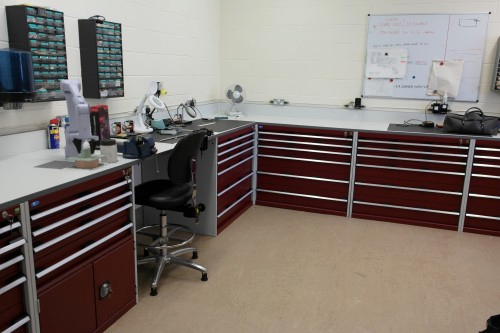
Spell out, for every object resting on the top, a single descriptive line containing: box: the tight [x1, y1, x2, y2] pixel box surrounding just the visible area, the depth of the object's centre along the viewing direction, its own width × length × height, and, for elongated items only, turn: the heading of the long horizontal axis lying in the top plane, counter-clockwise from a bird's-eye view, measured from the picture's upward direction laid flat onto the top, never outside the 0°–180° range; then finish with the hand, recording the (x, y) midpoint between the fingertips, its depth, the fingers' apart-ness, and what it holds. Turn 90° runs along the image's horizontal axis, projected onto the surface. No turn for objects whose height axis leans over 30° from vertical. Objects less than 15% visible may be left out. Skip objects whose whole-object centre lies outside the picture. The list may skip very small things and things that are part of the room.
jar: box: [99, 138, 118, 164], centre depth 227 cm, size 9×8×12 cm
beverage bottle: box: [63, 116, 78, 145], centre depth 265 cm, size 8×8×20 cm
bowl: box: [74, 159, 100, 169], centre depth 216 cm, size 11×11×4 cm
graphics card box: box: [89, 104, 112, 151], centre depth 266 cm, size 17×7×27 cm, turn 179°
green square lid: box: [65, 147, 106, 162], centre depth 215 cm, size 14×14×5 cm
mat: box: [34, 160, 75, 170], centre depth 218 cm, size 17×17×1 cm
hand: (86, 153), depth 215 cm, fingers open, 7 cm apart
